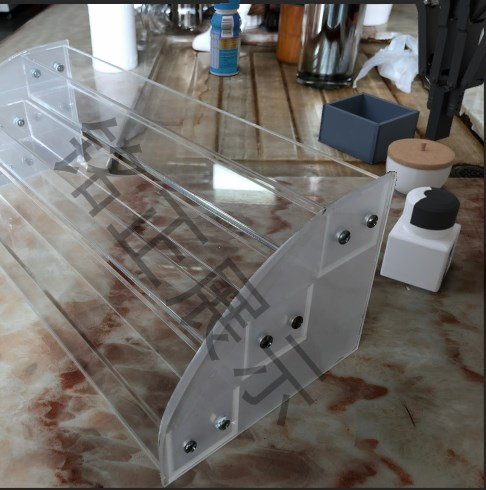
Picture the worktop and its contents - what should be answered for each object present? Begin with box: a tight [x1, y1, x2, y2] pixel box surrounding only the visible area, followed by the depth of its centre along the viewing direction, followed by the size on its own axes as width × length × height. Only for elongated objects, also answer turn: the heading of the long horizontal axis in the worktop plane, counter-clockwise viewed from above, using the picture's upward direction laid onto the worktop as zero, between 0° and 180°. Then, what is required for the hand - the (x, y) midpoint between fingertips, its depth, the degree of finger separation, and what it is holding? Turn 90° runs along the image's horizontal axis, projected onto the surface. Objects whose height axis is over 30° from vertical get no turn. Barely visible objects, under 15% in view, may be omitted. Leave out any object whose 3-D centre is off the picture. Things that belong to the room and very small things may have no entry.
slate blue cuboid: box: [317, 91, 421, 166], centre depth 120 cm, size 8×14×12 cm
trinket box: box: [385, 138, 456, 196], centre depth 103 cm, size 11×11×9 cm
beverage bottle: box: [209, 0, 243, 77], centre depth 158 cm, size 8×8×20 cm
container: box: [379, 187, 462, 293], centre depth 81 cm, size 8×8×13 cm
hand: (436, 137), depth 75 cm, fingers closed
